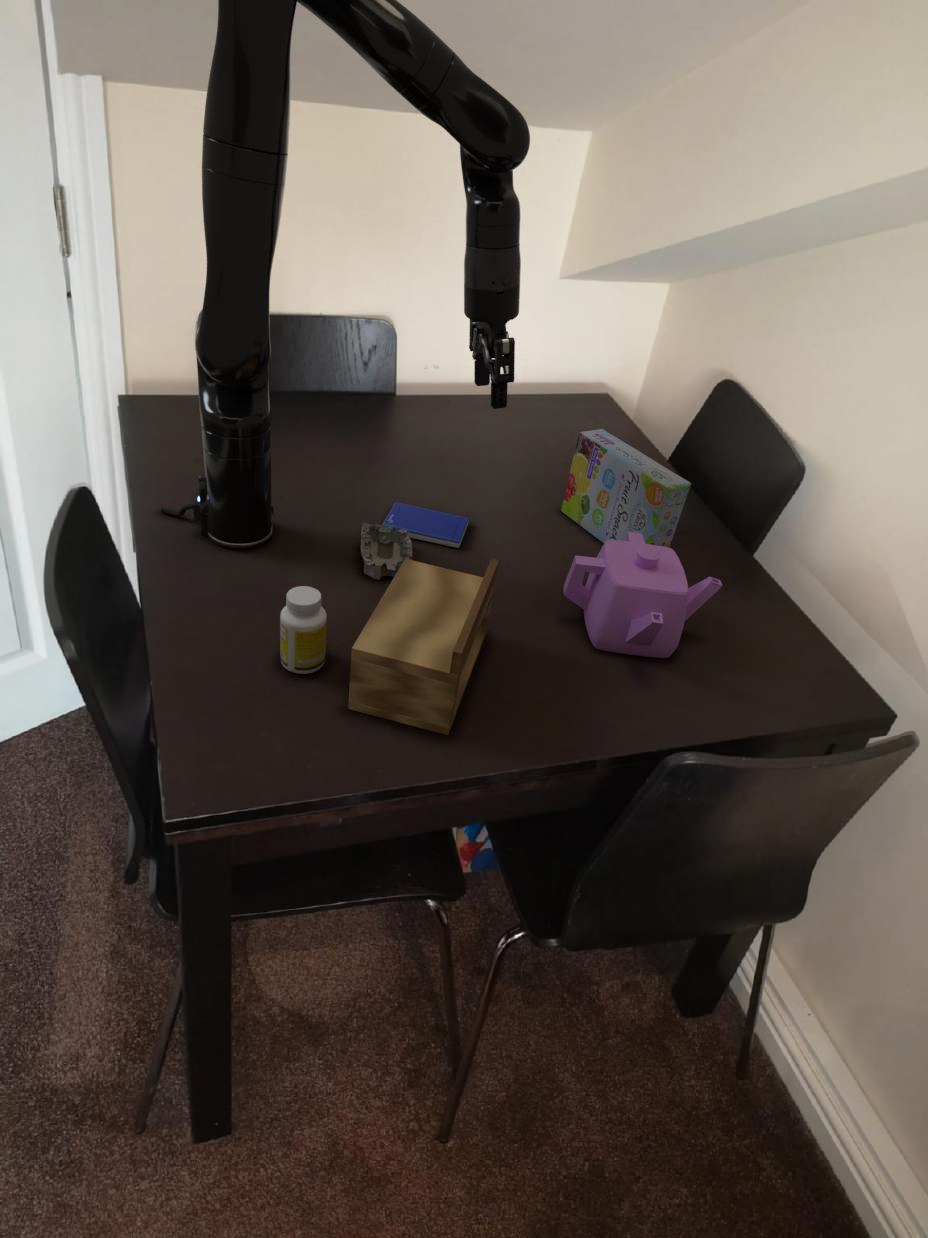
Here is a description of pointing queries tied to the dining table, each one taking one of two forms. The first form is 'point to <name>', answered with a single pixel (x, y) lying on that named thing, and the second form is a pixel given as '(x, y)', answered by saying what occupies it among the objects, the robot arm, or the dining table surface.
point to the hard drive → (428, 524)
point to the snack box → (622, 491)
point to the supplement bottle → (303, 631)
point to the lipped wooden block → (421, 645)
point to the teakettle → (635, 597)
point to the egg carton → (384, 549)
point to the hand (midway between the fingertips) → (490, 395)
